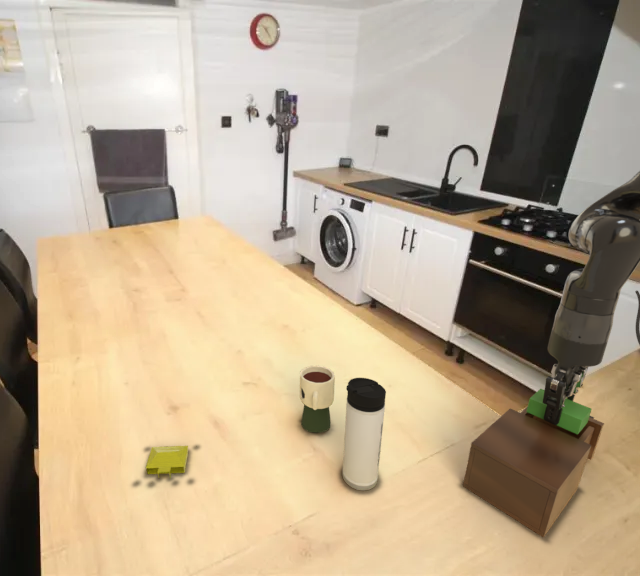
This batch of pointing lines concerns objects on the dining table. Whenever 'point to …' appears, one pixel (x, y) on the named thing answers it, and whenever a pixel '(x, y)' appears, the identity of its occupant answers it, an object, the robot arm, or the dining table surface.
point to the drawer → (587, 434)
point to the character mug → (316, 397)
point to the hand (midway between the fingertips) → (556, 415)
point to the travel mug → (363, 433)
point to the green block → (571, 415)
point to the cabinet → (526, 469)
